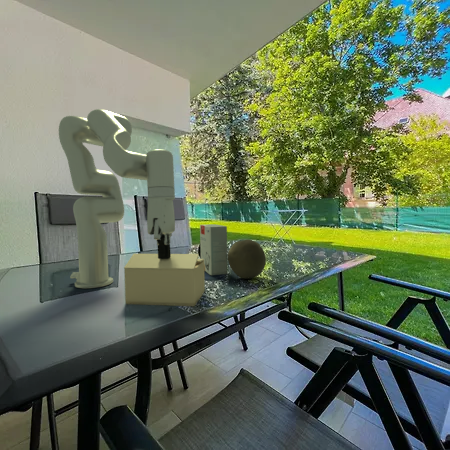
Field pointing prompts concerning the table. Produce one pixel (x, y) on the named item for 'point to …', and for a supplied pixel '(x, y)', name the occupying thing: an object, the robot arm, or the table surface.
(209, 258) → the hard drive box
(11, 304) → the table surface
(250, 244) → the cantaloupe
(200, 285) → the cardboard box
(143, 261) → the front flap
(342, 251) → the table surface
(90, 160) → the robot arm
